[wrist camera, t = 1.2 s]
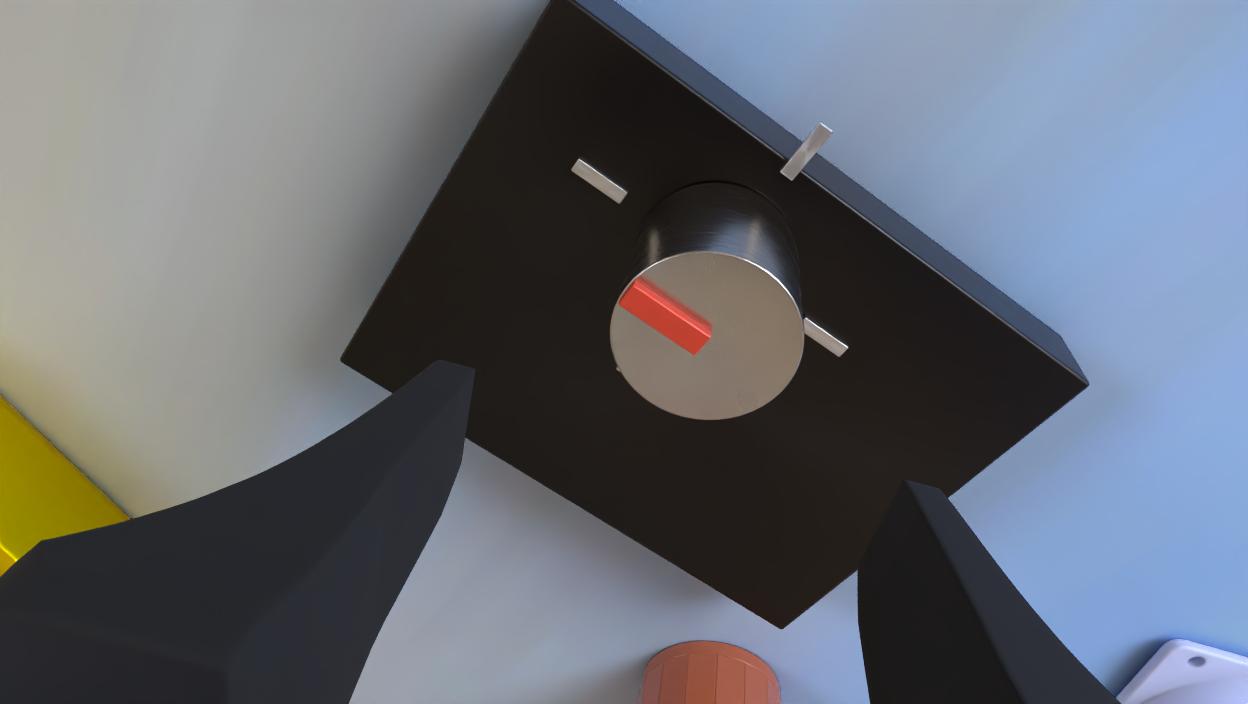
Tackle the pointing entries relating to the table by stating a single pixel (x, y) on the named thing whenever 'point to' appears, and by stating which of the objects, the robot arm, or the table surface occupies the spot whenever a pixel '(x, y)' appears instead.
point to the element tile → (42, 491)
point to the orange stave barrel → (708, 676)
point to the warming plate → (589, 286)
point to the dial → (710, 304)
